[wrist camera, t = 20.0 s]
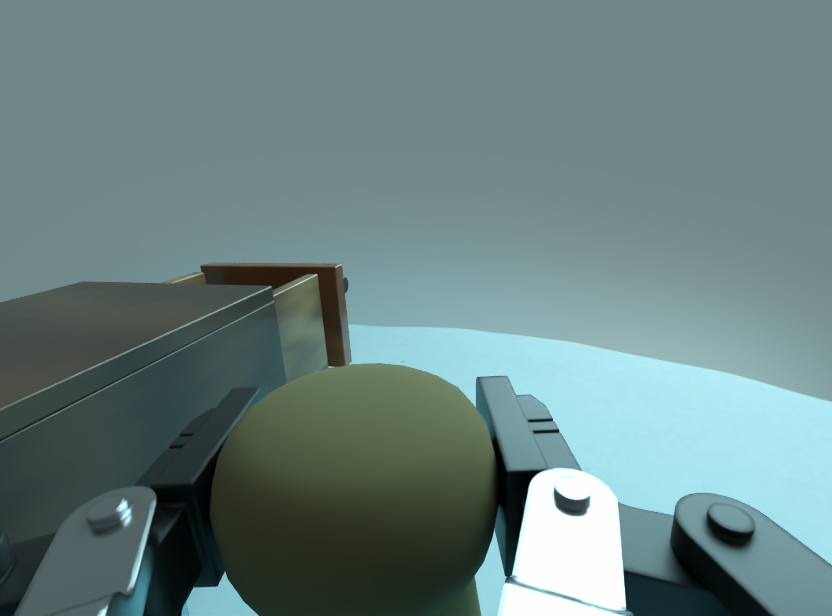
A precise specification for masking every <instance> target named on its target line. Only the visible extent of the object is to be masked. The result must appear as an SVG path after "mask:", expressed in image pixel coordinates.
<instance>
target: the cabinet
mask: <svg viewBox="0 0 832 616" xmlns="http://www.w3.org/2000/svg"><path fill="white" fill-rule="evenodd" d="M273 300H274V296H273V289H272V286H254V285H210V284H167V283H124V282H123V283H122V282H121V283H120V282H80V283H76V284H72V285H68V286H64V287H60V288H56V289H52V290H48V291H44V292H40V293H36V294H32V295H28V296H24V297H20V298H16V299H12V300H9V301H5V302H1V303H0V523H1V524H2V525H3V526H4V528H5V531H6V533H7V535H8V538H9V540H10V542H11V544H13V543H17V542H21V541H25V540H28V539H32V538H36V537H40V536H44V535H48V534H51V533H55V532H57V531H58V529H59V527H60V526H61V524H62V523H63V522H64V520H65V519H66V518H67V517H68V516H69V515H70V514H71V513H72V512H73V511H75V510H76V509H77V508H79V507H80V506H82V505H83V504H85V503H86V502H88V501H90V500H91V499H93V498H95V497H97V496H99V495H102V494H104V493H106V492H109V491H112V490H115V489H119V488H123V487H129V486H133V485H134V484H135V483H136V482H137V481H138V480H139V479H140V478H141V477H142V475H143V474H144V473H145V472H146V471H147V470H148V469H149V468H150V467H151V465H152V464H153V463H154V462H155V461H156V460H157V459H158V458H159V457H160V455H161V454H162V453H163V452H164V451H165V450H166V449H169V445H170V444H171V443H172V442H173V441H174V440H175V439H176V438H177V437H179V436H180V433H181V432H182V431H183V430H184V429H185V428H186V426H187V425H188V424H189V423H190V422H191V421H192V420H193V419H195V418H196V417H198V416H200V415H201V414H203V413H204V412H206V411H207V410H209V409H211V408H216V407H217V406H218V405H219V404H220V402H221V401H222V400H223V399H224V398H225V396H226V395H227V394H228V393H229V392H230V390H231V389H232V388H234V387H255V386H265V387H266V388H267V389H268V391H269V393H271V392H272V391H274V390H275V389H277V388H279V387H281V386H283V385H285V384H287V380H286V373H285V366H284V360H283V353H282V347H281V340H280V334H279V327H278V321H277V314H276V308H275V302H274V301H273Z"/></svg>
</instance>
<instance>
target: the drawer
mask: <svg viewBox="0 0 832 616" xmlns="http://www.w3.org/2000/svg"><path fill="white" fill-rule="evenodd" d="M163 283H167V284H210V285H254V286H272V289H273V296H274V300H273V301H274V302H275V308H276V314H277V321H278V327H279V334H280V340H281V347H282V353H283V360H284V366H285V373H286V380H287V383H289V382H291V381H293V380H295V379H297V378H299V377H302V376H305V375H308V374H312V373H315V372H318V371H321V370H325V369H329V367H328V366H333V367H341V366H346V365H349V363H350V362H351V361H352V360H351V350H350V340H349V330H348V320H347V310H346V301H345V293H346V292H347V290H348V281H347V278H346V277H343V271H342V264H319V263H318V264H317V263H208V264H204V265H202V266H201V272H195V273H192V274H189V275H185V276H182V277H179V278H176V279H172V280H170V281H166V282H163Z"/></svg>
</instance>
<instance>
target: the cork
mask: <svg viewBox="0 0 832 616" xmlns="http://www.w3.org/2000/svg"><path fill="white" fill-rule="evenodd" d="M499 498H500V471H499V467H498V464H497V460H496V456H495V452H494V449H493V445H492V441H491V437H490V434H489V430H488V426H487V423H486V422H485V421H484V419H483V418H482V416H481V415H480V414H479V412H478V411H477V409H476V408H475V407H474V405H473V404H472V403H471V401H470V400H469V399H468V398H467V397H466V396H465V395H464V393H463V392H462V391H461V390H460V389H459V388H458V387H456V386H454V385H453V384H451V383H449V382H447V381H445V380H444V379H442V378H440V377H438V376H436V375H433V374H430V373H428V372H424V371H421V370H417V369H414V368H410V367H407V366H400V365H391V364H381V363H376V364H352V365H346V366H341V367H335V368H329V369H325V370H321V371H318V372H315V373H312V374H308V375H305V376H302V377H299V378H297V379H295V380H293V381H291V382H289V383H287V384H285V385H283V386H281V387H279V388H277V389H275V390H274V391H272V392H271V393H269V394H268V395H266V396H265V397H264V398H262V399H261V400H260V401H258V402H257V403H256V404H254V405H253V406H252V407H250V408H249V409H248V410H246V411H245V412H244V414H243V415H242V416H241V418H240V419H239V420H238V422H237V423H236V424H235V426H234V427H233V429H232V430H231V431H230V433H229V435H228V437H227V439H226V441H225V443H224V445H223V447H222V450H221V452H220V454H219V456H218V459H217V464H216V469H215V473H214V478H213V483H212V490H211V502H210V514H209V517H210V521H211V524H212V528H213V532H214V536H215V540H216V544H217V547H218V550H219V553H220V556H221V559H222V562H223V565H224V568H225V571H226V575H227V578H228V580H229V581H230V583H231V584H232V585H233V587H234V588H235V590H236V591H237V592H238V594H239V595H240V597H241V598H242V599H243V601H244V602H245V603H246V604H247V605H248V606H249V607H250V608H251V609H252V610H253V611H255V612H256V613H257V614H258V615H259V616H481V611H480V605H479V600H478V594H477V588H476V582H475V577H474V576H475V574H476V573H477V571H478V570H479V568H480V567H481V565H482V564H483V562H484V560H485V557H486V554H487V551H488V548H489V546H490V543H491V540H492V537H493V532H494V527H495V522H496V517H497V513H498V508H499Z"/></svg>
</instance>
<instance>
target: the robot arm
mask: <svg viewBox="0 0 832 616" xmlns="http://www.w3.org/2000/svg"><path fill="white" fill-rule="evenodd" d="M268 394H269V391H268V389H267V388H266V387H265V386H255V387H234V388H232V389H231V390H230V392H229V393H228V394H227V395H226V396H225V398H224V399H223V400H222V401H221V402H220V404H219V405H218V406H217V407H216V408H211V409H209V410H207V411H206V412H204V413H203V414H201V415H200V416H198V417H196V418H195V419H193V420H192V421H191V422H190V423H189V424H188V425H187V426H186V428H185V429H184V430H183V431H182V432H181V433H180V436H179V437H177V438H176V439H175V440H174V441H173V442H172V443H171V444H170V445H169V449H166V450H165V451H164V452H163V453H162V454H161V455H160V457H159V458H158V459H157V460H156V461H155V462H154V463H153V464H152V465H151V467H150V468H149V469H148V470H147V471H146V472H145V473H144V474H143V475H142V477H141V478H140V479H139V480H138V481H137V482H136V483H135V484H134V485H133V486H129V487H123V488H119V489H115V490H112V491H109V492H106V493H104V494H102V495H99V496H97V497H95V498H93V499H91V500H90V501H88V502H86V503H85V504H83V505H82V506H80V507H79V508H77V509H76V510H75V511H73V512H72V513H71V514H70V515H69V516H68V517H67V518H66V519H65V520H64V522H63V523H62V524H61V526H60V527H59V529H58V531H57V532H55V533H51V534H48V535H44V536H40V537H36V538H32V539H28V540H25V541H21V542H17V543H13V544H11V542H10V540H9V538H8V535H7V533H6V531H5V528H4V526H3V525H2V524H1V523H0V616H189V612H188V608H187V605H186V600H187V599H188V597H189V595H190V593H191V591H192V589H193V587H216V586H218V584H219V582H220V580H221V578H222V576H223V574H224V572H225V568H224V565H223V562H222V559H221V556H220V553H219V550H218V547H217V544H216V540H215V536H214V532H213V528H212V524H211V521H210V517H209V514H210V502H211V490H212V483H213V478H214V473H215V469H216V464H217V459H218V456H219V454H220V452H221V450H222V447H223V445H224V443H225V441H226V439H227V437H228V435H229V433H230V431H231V430H232V429H233V427H234V426H235V424H236V423H237V422H238V420H239V419H240V418H241V416H242V415H243V414H244V412H245V411H246V410H248V409H249V408H250V407H252V406H253V405H254V404H256V403H257V402H258V401H260V400H261V399H262V398H264V397H265V396H266V395H268ZM476 409H477V411H478V412H479V414H480V415H481V416H482V418H483V419H484V421H485V422H486V423H487V426H488V430H489V434H490V437H491V441H492V445H493V449H494V452H495V456H496V460H497V464H498V467H499V471H500V498H499V508H498V513H497V517H496V522H495V527H494V528H495V533H496V537H497V542H498V546H499V551H500V555H501V560H502V564H503V568H504V573H505V576H507V578H506V581H505V584H504V588H503V592H502V597H501V602H500V607H499V611H498V616H832V565H831V564H829V563H828V562H827V561H825V560H824V559H823V558H821V557H820V556H819V555H817V554H816V553H815V552H813V551H812V550H811V549H809V548H808V547H807V546H805V545H804V544H803V543H802V542H800V541H799V540H798V539H796V538H795V537H794V536H792V535H791V534H790V533H788V532H787V531H786V530H784V529H783V528H782V527H780V526H779V525H778V524H776V523H775V522H774V521H772V520H771V519H770V518H768V517H767V516H765V515H764V514H763V513H761V512H760V511H758V510H756V509H754V508H753V507H751V506H749V505H747V504H745V503H743V502H740V501H738V500H735V499H732V498H729V497H726V496H722V495H717V494H711V493H694V494H689V495H686V496H684V497H682V498H681V499H680V500H679V501H678V502H677V504H676V506H675V512H674V515H669V514H663V513H658V512H653V511H648V510H643V509H638V508H634V507H630V506H627V505H624V504H621V503H619V502H617V499H616V497H615V495H614V493H613V492H612V491H611V489H610V488H609V487H608V486H607V485H606V484H605V483H603V482H602V481H601V480H599V479H597V478H596V477H594V476H592V475H590V474H588V473H585V472H583V471H582V470H581V468H580V466H579V464H578V463H577V461H576V459H575V457H574V455H573V454H572V452H571V450H570V448H569V447H568V445H567V443H566V441H565V439H564V438H563V436H562V434H561V433H559V429H558V427H557V425H556V423H555V422H554V421H553V418H552V416H551V414H550V413H549V411H548V409H547V407H546V406H545V405H544V404H543V403H541V402H540V401H539V400H537V399H536V398H534V397H533V396H532V395H516V394H515V392H514V389H513V387H512V385H511V383H510V381H509V379H508V377H507V376H489V377H477V379H476ZM510 576H512V577H510Z"/></svg>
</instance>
